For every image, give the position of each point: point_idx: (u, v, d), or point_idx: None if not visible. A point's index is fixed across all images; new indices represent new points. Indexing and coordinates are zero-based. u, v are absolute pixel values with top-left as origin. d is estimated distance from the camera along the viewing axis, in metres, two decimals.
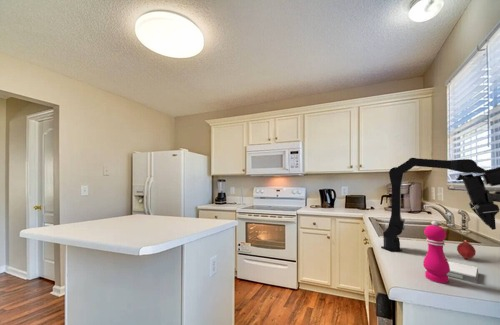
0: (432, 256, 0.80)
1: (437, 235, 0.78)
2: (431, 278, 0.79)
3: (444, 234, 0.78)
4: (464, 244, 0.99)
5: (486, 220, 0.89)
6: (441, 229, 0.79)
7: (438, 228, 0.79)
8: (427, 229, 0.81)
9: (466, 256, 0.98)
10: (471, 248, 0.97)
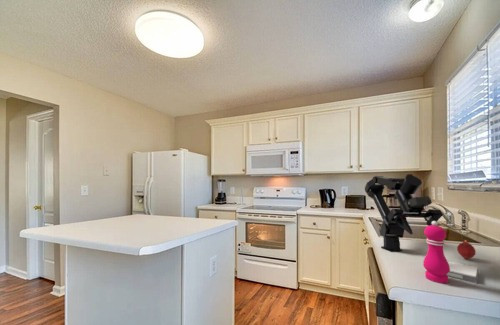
0: (432, 256, 0.80)
1: (437, 235, 0.78)
2: (431, 278, 0.79)
3: (444, 234, 0.78)
4: (464, 244, 0.99)
5: (403, 226, 0.92)
6: (441, 229, 0.79)
7: (438, 228, 0.79)
8: (427, 229, 0.81)
9: (466, 256, 0.98)
10: (471, 248, 0.97)
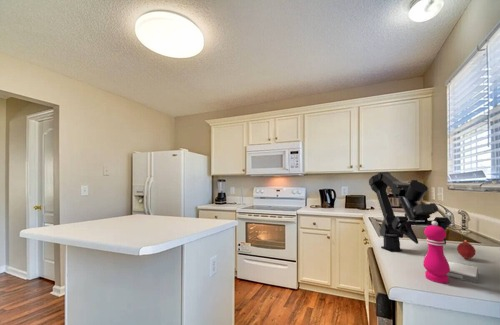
0: (432, 256, 0.80)
1: (437, 235, 0.78)
2: (431, 278, 0.79)
3: (444, 234, 0.78)
4: (464, 244, 0.99)
5: (408, 235, 0.87)
6: (441, 229, 0.79)
7: (438, 228, 0.79)
8: (427, 229, 0.81)
9: (466, 256, 0.98)
10: (471, 248, 0.97)
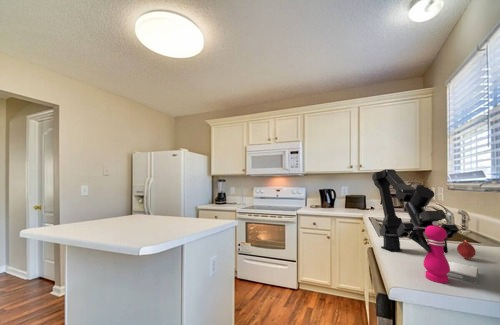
0: (432, 256, 0.80)
1: (437, 235, 0.78)
2: (431, 278, 0.79)
3: (445, 234, 0.78)
4: (464, 244, 0.99)
5: (419, 243, 0.83)
6: (442, 229, 0.79)
7: (439, 228, 0.79)
8: (428, 229, 0.81)
9: (466, 256, 0.98)
10: (471, 248, 0.97)
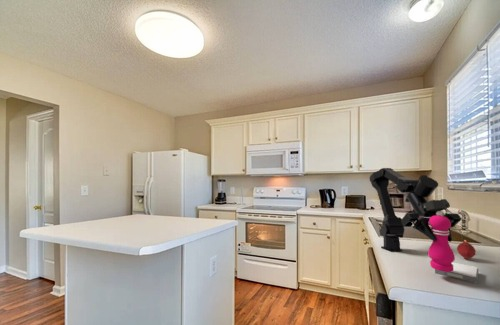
0: (438, 245, 0.80)
1: (442, 225, 0.79)
2: (437, 267, 0.80)
3: (449, 223, 0.79)
4: (464, 244, 0.99)
5: (424, 232, 0.84)
6: (446, 219, 0.80)
7: (443, 218, 0.80)
8: (432, 219, 0.82)
9: (466, 256, 0.98)
10: (471, 248, 0.97)
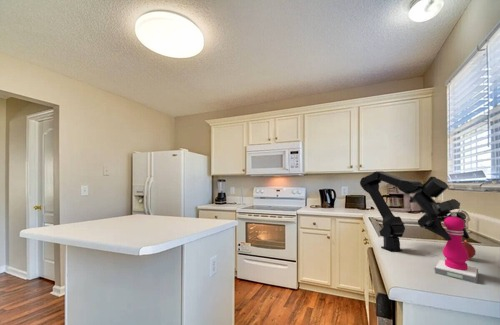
0: (455, 245, 0.84)
1: (460, 225, 0.83)
2: (455, 267, 0.83)
3: (464, 224, 0.84)
4: (464, 244, 0.99)
5: (437, 232, 0.86)
6: (461, 219, 0.85)
7: (459, 219, 0.85)
8: (450, 220, 0.85)
9: None
10: (471, 248, 0.97)
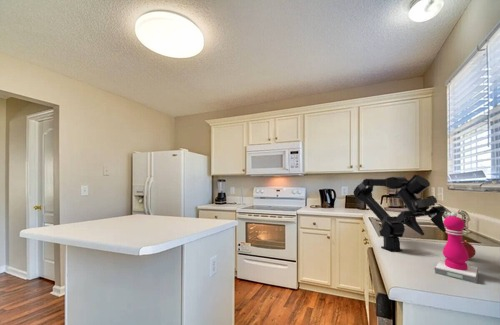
0: (455, 245, 0.84)
1: (460, 225, 0.83)
2: (455, 267, 0.83)
3: (464, 224, 0.84)
4: (464, 244, 0.99)
5: (413, 228, 0.95)
6: None
7: (459, 219, 0.85)
8: (450, 220, 0.85)
9: None
10: (471, 248, 0.97)
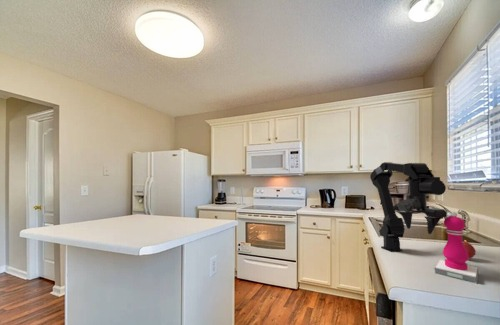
0: (455, 245, 0.84)
1: (461, 225, 0.83)
2: (455, 267, 0.83)
3: None
4: (464, 244, 0.99)
5: None
6: None
7: (460, 219, 0.85)
8: (450, 220, 0.85)
9: None
10: (471, 248, 0.97)
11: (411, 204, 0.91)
